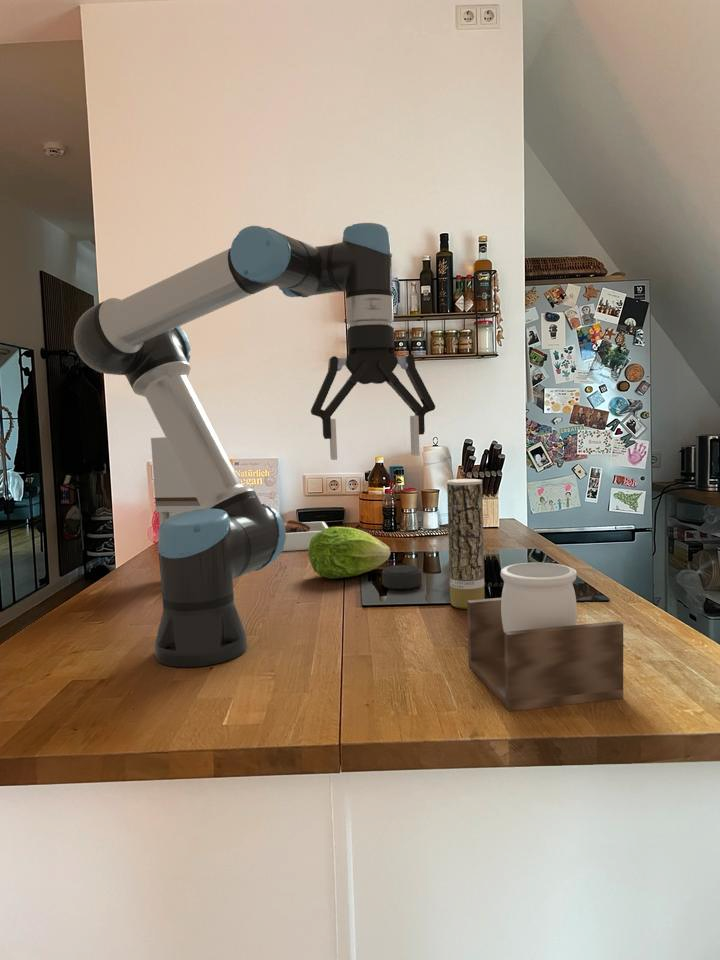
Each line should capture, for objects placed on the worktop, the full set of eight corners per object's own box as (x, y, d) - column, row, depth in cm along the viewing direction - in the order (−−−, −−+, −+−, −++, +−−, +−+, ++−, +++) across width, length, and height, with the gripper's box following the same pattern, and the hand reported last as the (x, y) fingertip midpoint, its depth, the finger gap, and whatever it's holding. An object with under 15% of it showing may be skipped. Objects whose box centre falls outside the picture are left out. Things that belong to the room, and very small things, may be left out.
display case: (161, 586, 161) (150, 438, 158) (183, 575, 172) (173, 435, 168) (205, 587, 159) (196, 436, 155) (225, 576, 169) (216, 434, 165)
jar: (522, 654, 105) (521, 558, 104) (588, 668, 99) (588, 566, 97) (488, 677, 97) (486, 573, 96) (558, 694, 91) (557, 582, 89)
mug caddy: (276, 551, 197) (275, 534, 196) (273, 540, 215) (272, 524, 214) (331, 547, 199) (330, 530, 199) (324, 536, 217) (323, 521, 217)
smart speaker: (399, 593, 148) (399, 575, 147) (374, 586, 155) (373, 568, 154) (430, 586, 153) (429, 568, 153) (404, 579, 160) (403, 562, 160)
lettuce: (411, 549, 165) (383, 514, 174) (336, 552, 152) (310, 514, 161) (391, 589, 171) (365, 553, 180) (316, 595, 158) (292, 556, 167)
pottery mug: (272, 545, 209) (280, 520, 212) (299, 556, 212) (308, 531, 215) (284, 541, 198) (293, 515, 201) (313, 552, 202) (321, 526, 204)
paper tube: (484, 610, 133) (481, 482, 130) (449, 609, 134) (445, 482, 132) (485, 600, 139) (482, 478, 137) (451, 600, 141) (448, 479, 138)
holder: (509, 711, 89) (507, 634, 88) (468, 665, 105) (467, 600, 104) (623, 698, 91) (623, 623, 90) (566, 655, 107) (566, 592, 106)
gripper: (294, 323, 105) (300, 462, 107) (451, 321, 109) (455, 454, 111) (291, 329, 112) (297, 459, 114) (438, 327, 116) (442, 452, 118)
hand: (375, 457), depth 112 cm, fingers open, 13 cm apart
